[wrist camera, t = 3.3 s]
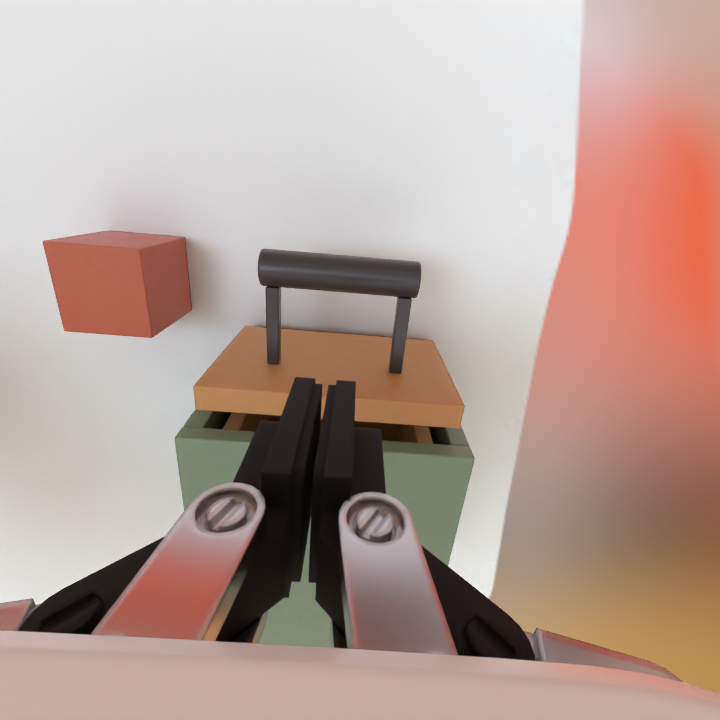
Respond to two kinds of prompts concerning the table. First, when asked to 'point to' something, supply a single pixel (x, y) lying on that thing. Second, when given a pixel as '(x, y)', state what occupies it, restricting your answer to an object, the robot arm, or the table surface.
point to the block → (119, 282)
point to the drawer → (334, 354)
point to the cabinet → (301, 611)
